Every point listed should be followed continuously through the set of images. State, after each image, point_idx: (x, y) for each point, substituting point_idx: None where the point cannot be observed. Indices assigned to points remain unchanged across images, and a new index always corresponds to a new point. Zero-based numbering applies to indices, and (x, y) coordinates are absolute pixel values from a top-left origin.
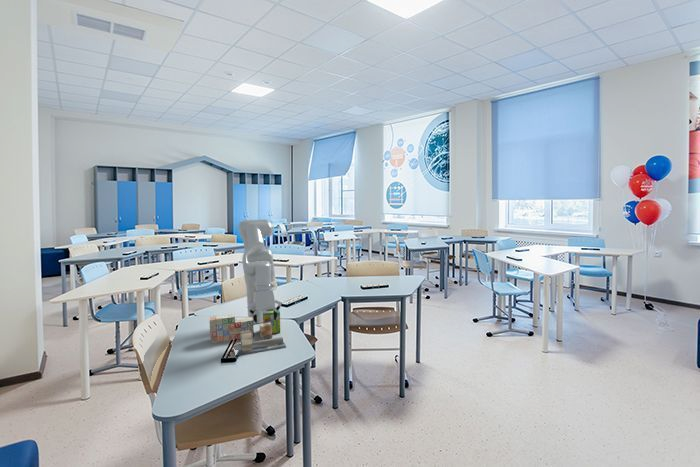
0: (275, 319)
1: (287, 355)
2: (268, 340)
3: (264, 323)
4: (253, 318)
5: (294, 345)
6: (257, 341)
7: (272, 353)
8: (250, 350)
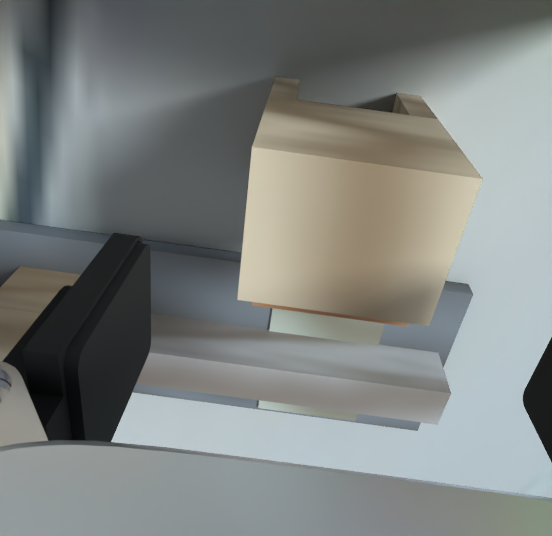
0: (535, 412)
1: None
2: (281, 400)
3: (353, 181)
4: (50, 309)
5: (496, 423)
6: (169, 366)
7: (272, 451)
8: None
